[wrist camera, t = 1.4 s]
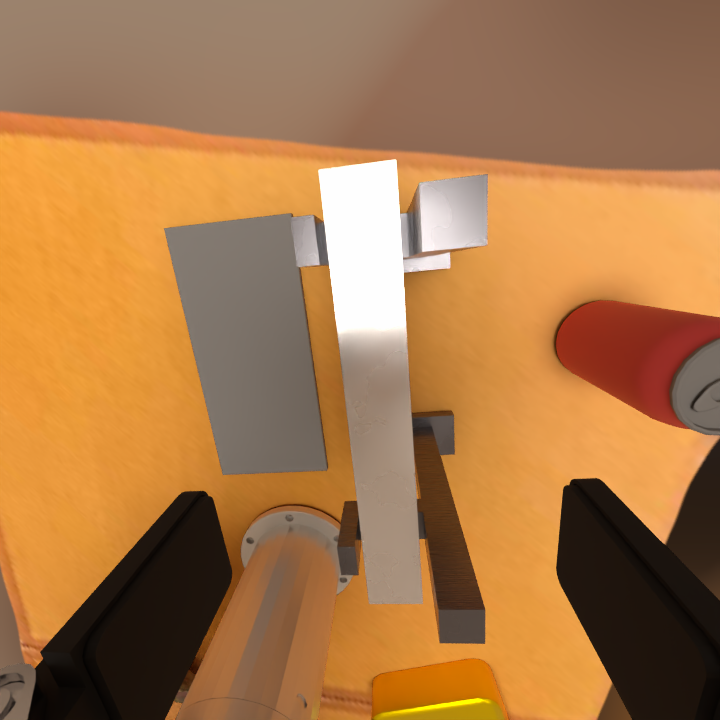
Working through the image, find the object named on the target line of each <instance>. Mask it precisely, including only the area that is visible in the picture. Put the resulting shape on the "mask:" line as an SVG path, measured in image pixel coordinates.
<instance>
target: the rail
mask: <svg viewBox="0 0 720 720" xmlns="http://www.w3.org/2000/svg"><path fill="white" fill-rule="evenodd" d="M318 171H319V179H320V188H321V197H322V205H323V214H324V222H325V231H326V239H327V248H328V256H329V265H330V274H331V282H332V291H333V299H334V308H335V316H336V325H337V333H338V342H339V351H340V359H341V368H342V376H343V385H344V393H345V402H346V411H347V419H348V428H349V436H350V445H351V453H352V462H353V470H354V479H355V488H356V496H357V505H358V513H359V522H360V530H361V539H362V547H363V556H364V565H365V573H366V582H367V590H368V599H369V604H423V597H422V580H421V563H420V547H419V530H418V514H417V497H416V480H415V464H414V447H413V431H412V414H411V397H410V381H409V364H408V347H407V331H406V314H405V298H404V281H403V264H402V248H401V231H400V214H399V198H398V181H397V165H396V160H389V161H381V162H374V163H366V164H358V165H351V166H343V167H335V168H328V169H320V170H318Z"/></svg>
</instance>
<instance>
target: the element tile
mask: <svg viewBox="0 0 720 720" xmlns="http://www.w3.org/2000/svg"><path fill="white" fill-rule="evenodd" d="M371 720H509V718H508V715H507V712H506V709H505V707H504V704H503V701H502V698H501V695H500V693H499V690H498V687H497V684H496V682H495V679H494V676H493V673H492V671H491V668H490V667H489V665H488V664H487V663H486V662H484V661H482V660H480V659H465V660H459V661H453V662H447V663H441V664H435V665H429V666H424V667H418V668H412V669H406V670H400V671H394V672H388V673H383V674H380V675H378V676H376V677H375V678H374V680H373V684H372V713H371Z"/></svg>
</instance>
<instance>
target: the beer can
mask: <svg viewBox="0 0 720 720" xmlns="http://www.w3.org/2000/svg"><path fill="white" fill-rule="evenodd" d="M556 348H557V354H558V357H559V359H560V361H561V362H562V364H563V366H565V367H566V368H567V369H568V370H570V371H571V372H572V373H574V374H575V375H577V376H579V377H581V378H582V379H584V380H586V381H588V382H589V383H591V384H593V385H595V386H596V387H598V388H600V389H602V390H603V391H605V392H607V393H609V394H610V395H612V396H614V397H616V398H617V399H619V400H621V401H623V402H624V403H626V404H628V405H630V406H631V407H633V408H635V409H637V410H638V411H640V412H642V413H643V414H645V415H647V416H649V417H650V418H652V419H655V420H657V421H660V422H663V423H666V424H668V425H672V426H675V427H679V428H685V429H691V430H694V431H697V432H700V433H702V434H705V435H720V318H719V317H713V316H707V315H700V314H694V313H687V312H681V311H675V310H668V309H662V308H655V307H649V306H642V305H636V304H630V303H623V302H617V301H596V302H592V303H588V304H585V305H584V306H582V307H580V308H579V309H577V310H575V311H573V312H572V313H571V314H570V315H569V317H568V318H567V319H566V320H565V321H564V322H563V324H562V326H561V328H560V330H559V331H558V335H557V340H556Z"/></svg>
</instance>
